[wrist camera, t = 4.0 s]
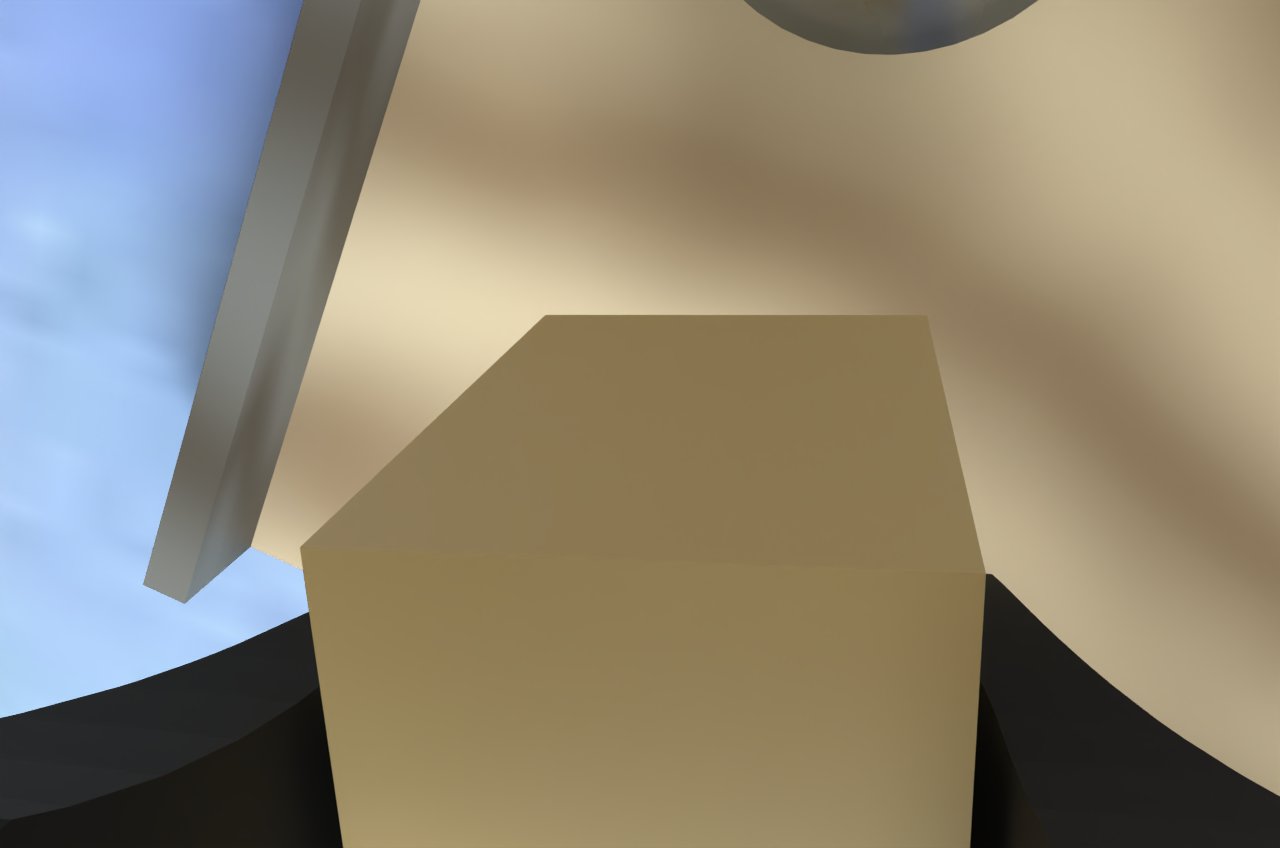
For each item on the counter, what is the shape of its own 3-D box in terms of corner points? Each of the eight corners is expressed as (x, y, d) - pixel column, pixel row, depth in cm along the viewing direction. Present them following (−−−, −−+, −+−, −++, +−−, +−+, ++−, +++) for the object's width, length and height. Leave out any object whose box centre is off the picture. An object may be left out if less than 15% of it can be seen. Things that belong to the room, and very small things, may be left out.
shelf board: (1250, 963, 23) (1317, 1121, 20) (240, 504, 24) (139, 583, 21) (1955, 90, 17) (2231, 107, 13) (546, -509, 17) (473, -636, 14)
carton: (907, 812, 14) (942, 1345, 8) (573, 786, 15) (397, 1263, 9) (927, 314, 12) (985, 572, 6) (540, 314, 13) (292, 546, 7)
